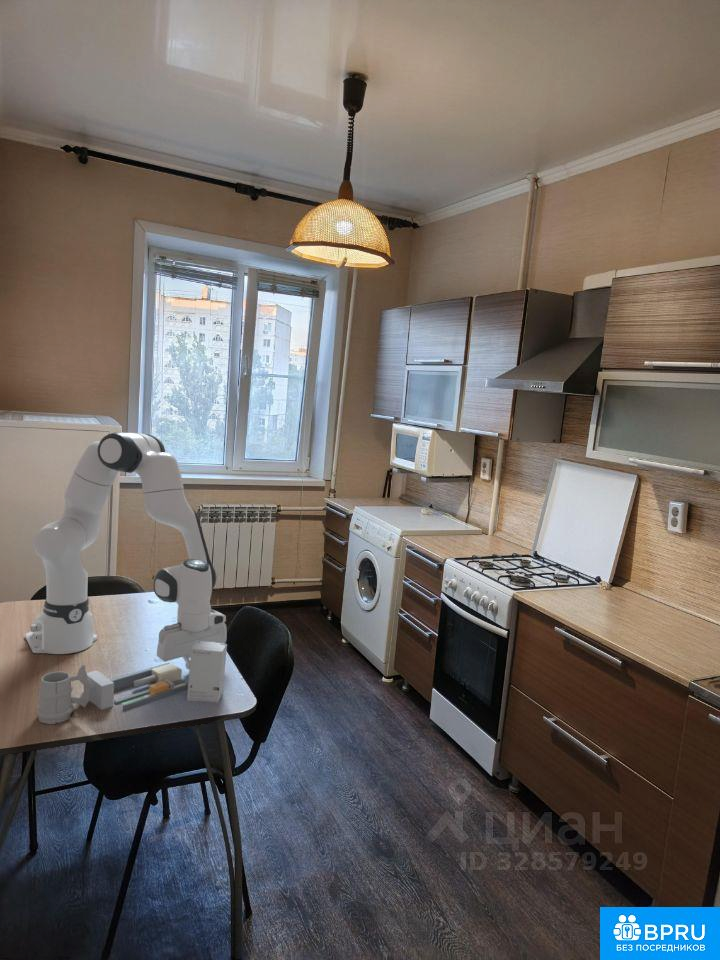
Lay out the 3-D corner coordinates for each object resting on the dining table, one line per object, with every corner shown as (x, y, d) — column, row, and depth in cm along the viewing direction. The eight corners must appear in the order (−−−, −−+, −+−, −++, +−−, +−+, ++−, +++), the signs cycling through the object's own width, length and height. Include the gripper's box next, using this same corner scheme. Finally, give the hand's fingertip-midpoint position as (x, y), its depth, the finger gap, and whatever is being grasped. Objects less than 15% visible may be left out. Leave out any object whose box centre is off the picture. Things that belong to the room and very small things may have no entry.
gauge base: (77, 695, 159) (77, 668, 158) (169, 668, 179) (170, 644, 178) (109, 721, 148) (109, 692, 147) (203, 689, 167) (204, 663, 166)
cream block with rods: (130, 686, 163) (130, 675, 163) (171, 673, 172) (171, 663, 172) (148, 699, 157) (149, 688, 157) (190, 685, 166) (191, 675, 166)
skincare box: (186, 705, 159) (188, 648, 157) (192, 694, 165) (195, 639, 163) (219, 707, 159) (222, 650, 157) (224, 696, 165) (227, 641, 163)
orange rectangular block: (149, 694, 160) (149, 685, 160) (163, 689, 163) (163, 681, 163) (154, 698, 158) (154, 689, 158) (168, 693, 161) (168, 684, 161)
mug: (35, 712, 150) (36, 664, 148) (89, 703, 156) (90, 656, 154) (38, 727, 143) (38, 677, 142) (94, 717, 149) (95, 669, 148)
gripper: (166, 631, 163) (164, 681, 164) (230, 615, 178) (228, 661, 179) (153, 624, 167) (151, 673, 168) (217, 609, 182) (215, 654, 184)
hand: (191, 667), depth 174 cm, fingers closed
